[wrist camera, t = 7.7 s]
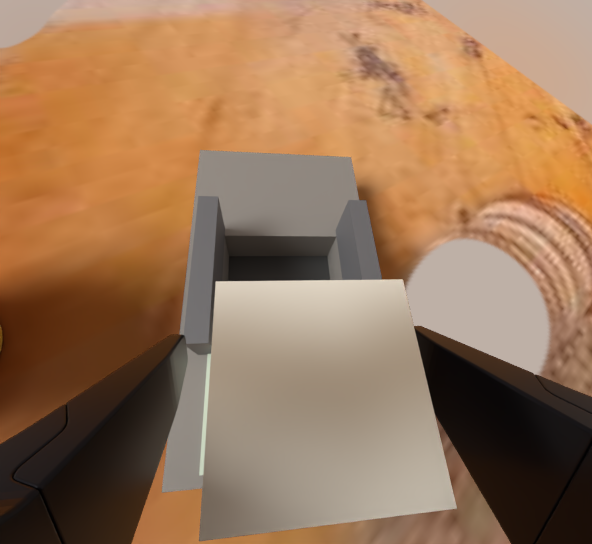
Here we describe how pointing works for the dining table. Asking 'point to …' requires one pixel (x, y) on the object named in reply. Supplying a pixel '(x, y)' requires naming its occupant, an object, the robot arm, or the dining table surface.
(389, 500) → the cream block
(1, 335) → the plant pot
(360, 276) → the tunnel deck
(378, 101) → the dining table surface
